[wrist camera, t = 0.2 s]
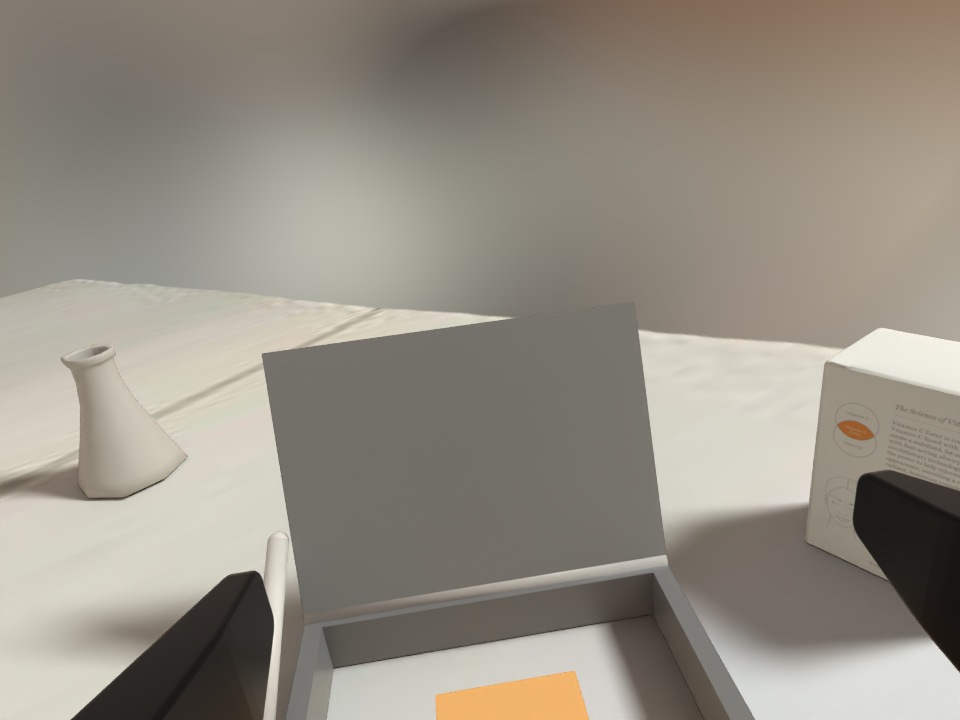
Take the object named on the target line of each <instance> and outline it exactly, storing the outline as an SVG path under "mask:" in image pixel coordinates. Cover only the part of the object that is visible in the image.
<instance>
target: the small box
mask: <svg viewBox="0 0 960 720" xmlns="http://www.w3.org/2000/svg"><path fill="white" fill-rule="evenodd" d="M881 470H893V471H897V472H900V473H903V474H906V475H910V476H913V477H916V478H919V479H923V480H926V481H929V482H933V483H936V484H939V485H942V486H946V487H949V488H952V489H956V490H959V491H960V342H955V341H949V340H943V339H938V338H933V337H928V336H923V335H917V334H911V333H906V332H900V331H895V330H890V329H885V328H878V329H877V330H875V331H873V332H872V333H870V334H868V335H867V336H865V337H864V338H862V339H861V340H859V341H858V342H856V343H854V344H853V345H851V346H850V347H848V348H846V349H845V350H843V351H842V352H840V353H839V354H837V355H836V356H834V357H832V358H831V359H829V360H828V361H826V362H825V365H824V372H823V381H822V390H821V400H820V408H819V417H818V427H817V434H816V444H815V453H814V461H813V471H812V481H811V488H810V499H809V508H808V517H807V526H806V534H805V540H806V542H807V543H809V544H811V545H814V546H816V547H818V548H820V549H822V550H824V551H826V552H829V553H831V554H833V555H835V556H837V557H839V558H841V559H843V560H845V561H848V562H850V563H852V564H854V565H856V566H858V567H860V568H862V569H865V570H867V571H869V572H871V573H873V574H875V575H877V576H879V577H882V578H884V579H886V580H888V579H887V578H886V576H885V575H884V573H883V572H882V570H881V569H880V568H879V566H878V565H877V563H876V562H875V560H874V559H873V557H872V556H871V555H870V553H869V552H868V550H867V549H866V547H865V546H864V545H863V543H862V542H861V540H860V539H859V537H858V536H857V534H856V532H855V530H854V526H853V520H852V517H853V509H854V502H855V494H856V487H857V481H858V479H859V477H860V476H861V475H863V474H864V473H869V472H875V471H881ZM888 581H889V580H888Z"/></svg>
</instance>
